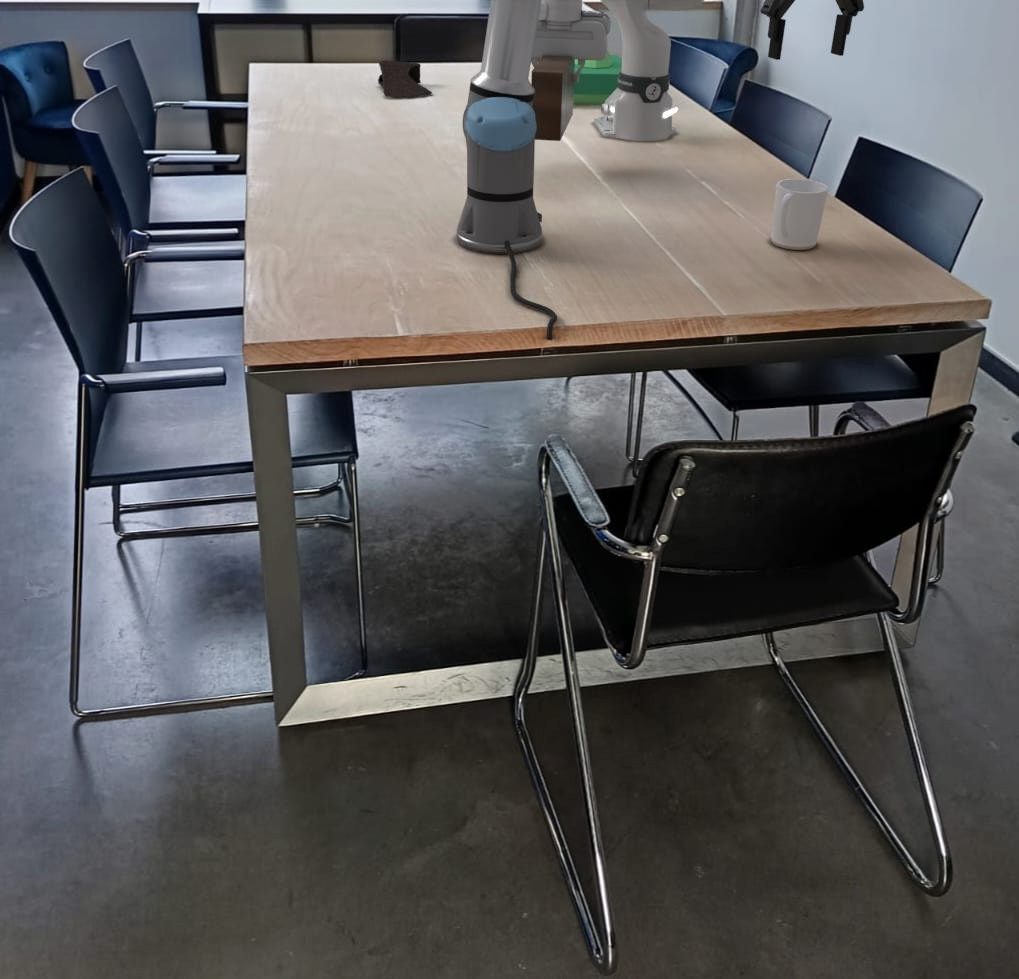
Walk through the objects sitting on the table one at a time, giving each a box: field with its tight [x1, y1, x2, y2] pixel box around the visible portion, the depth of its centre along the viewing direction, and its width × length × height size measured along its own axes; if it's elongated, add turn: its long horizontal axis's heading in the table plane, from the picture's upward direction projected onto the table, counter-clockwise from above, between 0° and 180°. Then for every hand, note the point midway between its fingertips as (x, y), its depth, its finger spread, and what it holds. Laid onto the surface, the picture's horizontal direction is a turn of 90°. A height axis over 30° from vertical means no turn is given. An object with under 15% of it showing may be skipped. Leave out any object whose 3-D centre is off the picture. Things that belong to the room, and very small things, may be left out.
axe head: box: [377, 59, 433, 99], centre depth 299 cm, size 18×8×15 cm
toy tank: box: [573, 50, 622, 106], centre depth 299 cm, size 18×12×35 cm
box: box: [530, 55, 575, 142], centre depth 224 cm, size 23×6×13 cm, turn 171°
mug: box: [770, 178, 829, 251], centre depth 194 cm, size 11×9×10 cm
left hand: (805, 56), depth 196 cm, fingers open, 13 cm apart
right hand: (557, 80), depth 230 cm, fingers closed on box, 6 cm apart
